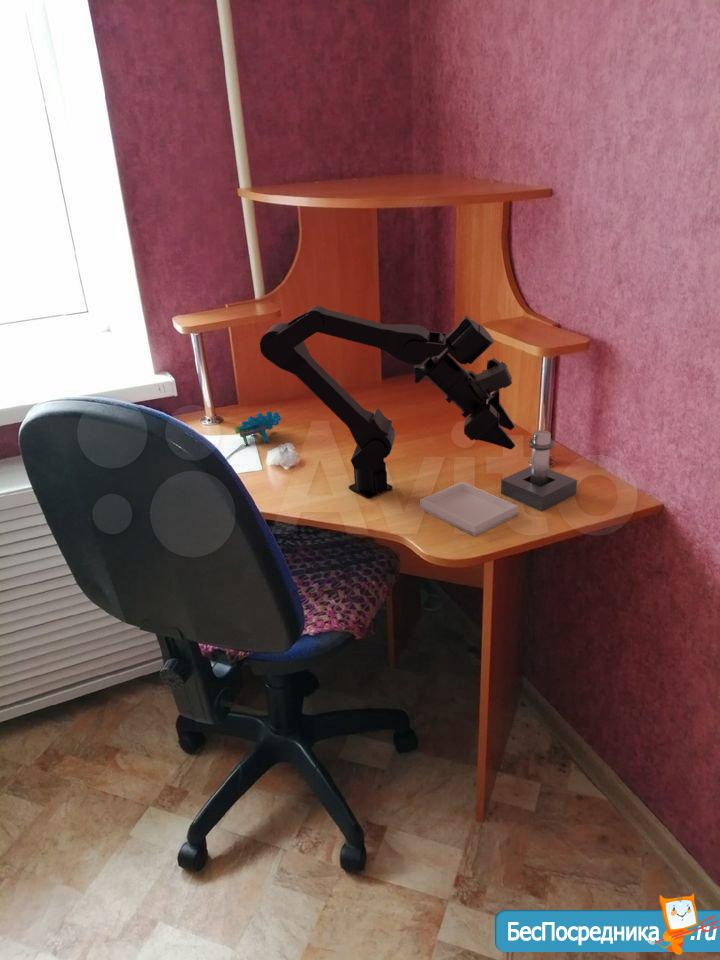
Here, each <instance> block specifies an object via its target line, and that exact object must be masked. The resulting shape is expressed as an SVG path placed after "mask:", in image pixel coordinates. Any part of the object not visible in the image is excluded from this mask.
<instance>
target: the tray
mask: <svg viewBox="0 0 720 960" xmlns="http://www.w3.org/2000/svg"><path fill="white" fill-rule="evenodd" d="M419 502H420V503H419V507H420V510H422V511H424V512H426V513H428V514H430V515H431V516H433V517H436V518H437V519H439V520H442V521H443V522H445V523H447V524H450V525H451V526H453V527H455V528H457V529H459V530H461V531H463V532H465V533H467V534H469V535H471V536H473V537H476V536H477V537H478V535H481V534H483V533H484V532H488V531H490V530H491V529H493V528H496V527H497V526H499V525H501V524H503V523H505V522H507V521H509V520H511V519H513V518H516V517H517V516H518V505H517V504H514V503H512V502H510V501H508V500H505V499H502V498H500V497H498V496H496V495H494V494H491V493H490V492H487V491H485V490H482V489H480V488H478V487H475V486H473V485H471V484H469V483H467V482H464V481H460V482H458V483H455V484H454V485H451V486H448V487H446V488H443V489H441V490H439V491H437V492H434V493H433V494H430V495H428V496H425V497H423V498H420V501H419Z"/></svg>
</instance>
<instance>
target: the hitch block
mask: <svg viewBox="0 0 720 960" xmlns="http://www.w3.org/2000/svg"><path fill="white" fill-rule="evenodd" d="M530 480H531V466H529V467H525V468H524V469H521V470H519V471H518V472H516V473H513V474H511V475H508V476H506V477H504V478H502V479H501V482H500V494H501V495H503V496H506V497H508V498H510V499H513V500H516V501H517V502H520V503H522V504H525V506H528V507H531V508H534V509H535V510H537V511H540V512H543V511H545V510H547V509H549V508H551V507H553V506H556V505H557V504H560V503H561V502H564V501H565V500H567V499H569V498H571V497H574V496H575V495H577V488H578V479H576V478H573V477H571V476H567V475H565V474H563V473H560V472H557V471H554V470H552V469H550V468H549V469H548V484H546V485H544V486H542V487H539V486H537V485H534V484H532V483H530Z"/></svg>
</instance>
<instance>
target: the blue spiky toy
mask: <svg viewBox="0 0 720 960" xmlns="http://www.w3.org/2000/svg"><path fill="white" fill-rule="evenodd" d="M246 420H247V421H246ZM246 420H244V421H241V424H240V426H235V427H234V430H235V434H236V435H237V434H239V435H240V438H242V439H243V442H244V445H245V444H248V445H249V442H248V439H247V437H249V436H253V435H256V434H261V437H262V439H263V442H264V444H267V442H268V443H269V442H270V441H269V438H268V435H267V432H266V430H268V431H271V430H272V429H274V426H279V424H280V421H281V420H282V417H281V415H280V413H279V412H273V413H272V411H267V412H265V415H263V413H262V412H259V413H257V414H256V417H253V416H249V417H247V418H246ZM252 434H253V435H252Z"/></svg>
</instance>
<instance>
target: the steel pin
mask: <svg viewBox="0 0 720 960" xmlns="http://www.w3.org/2000/svg"><path fill="white" fill-rule="evenodd" d="M551 436H552V433H551V432H550V431H547V430H541V429H540V430H535V431H533V432H532V438H530V439H529V441H528V446H529V448H531V461H530V467H531V480H530V483H532V484H534V485H537V486H539V487H542V486H544V485H546V484H548V469H550V467H549V465H550V452H551V451H550V450H551V449H553V448H554V440H553V439H552V437H551Z"/></svg>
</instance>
